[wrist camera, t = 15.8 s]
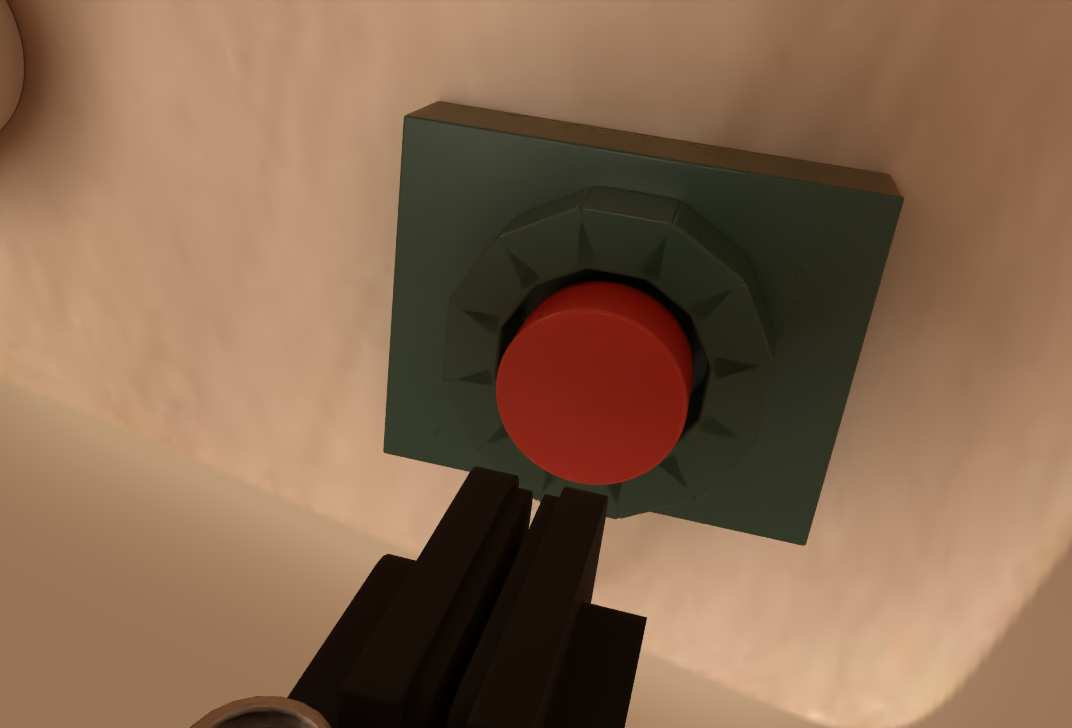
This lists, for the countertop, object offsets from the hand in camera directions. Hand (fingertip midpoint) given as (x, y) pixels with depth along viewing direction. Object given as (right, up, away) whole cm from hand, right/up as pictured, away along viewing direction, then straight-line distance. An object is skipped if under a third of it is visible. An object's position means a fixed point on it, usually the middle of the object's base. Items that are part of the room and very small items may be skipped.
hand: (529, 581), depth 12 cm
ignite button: (+1, +3, +7) cm, 8 cm away
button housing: (+2, +4, +11) cm, 12 cm away
